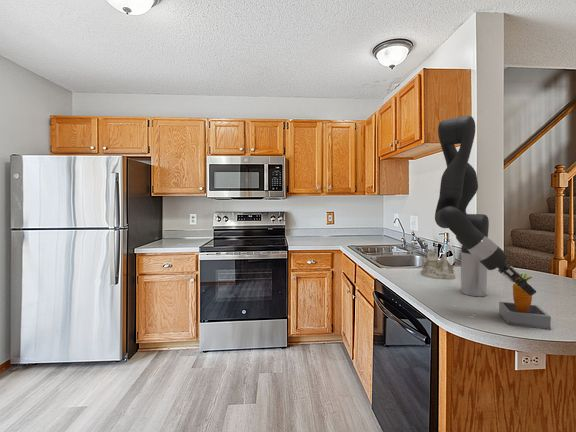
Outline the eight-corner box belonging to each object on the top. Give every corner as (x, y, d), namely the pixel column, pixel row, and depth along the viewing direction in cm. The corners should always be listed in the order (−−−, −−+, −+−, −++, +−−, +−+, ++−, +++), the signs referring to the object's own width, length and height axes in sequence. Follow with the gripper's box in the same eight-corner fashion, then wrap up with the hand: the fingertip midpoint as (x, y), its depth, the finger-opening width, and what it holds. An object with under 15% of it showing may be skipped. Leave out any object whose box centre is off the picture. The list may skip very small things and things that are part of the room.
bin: (499, 312, 104) (499, 301, 104) (537, 317, 100) (537, 305, 100) (507, 324, 94) (508, 311, 94) (550, 329, 90) (550, 316, 90)
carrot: (523, 315, 100) (524, 270, 99) (536, 320, 95) (536, 273, 94) (508, 315, 100) (509, 270, 99) (520, 321, 95) (521, 274, 94)
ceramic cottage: (455, 280, 147) (454, 249, 147) (418, 277, 155) (418, 248, 156) (456, 275, 160) (455, 247, 161) (422, 273, 169) (421, 246, 169)
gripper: (502, 248, 93) (548, 288, 89) (491, 242, 106) (531, 277, 102) (481, 264, 95) (525, 304, 91) (473, 256, 108) (511, 291, 104)
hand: (528, 290), depth 96 cm, fingers open, 8 cm apart
